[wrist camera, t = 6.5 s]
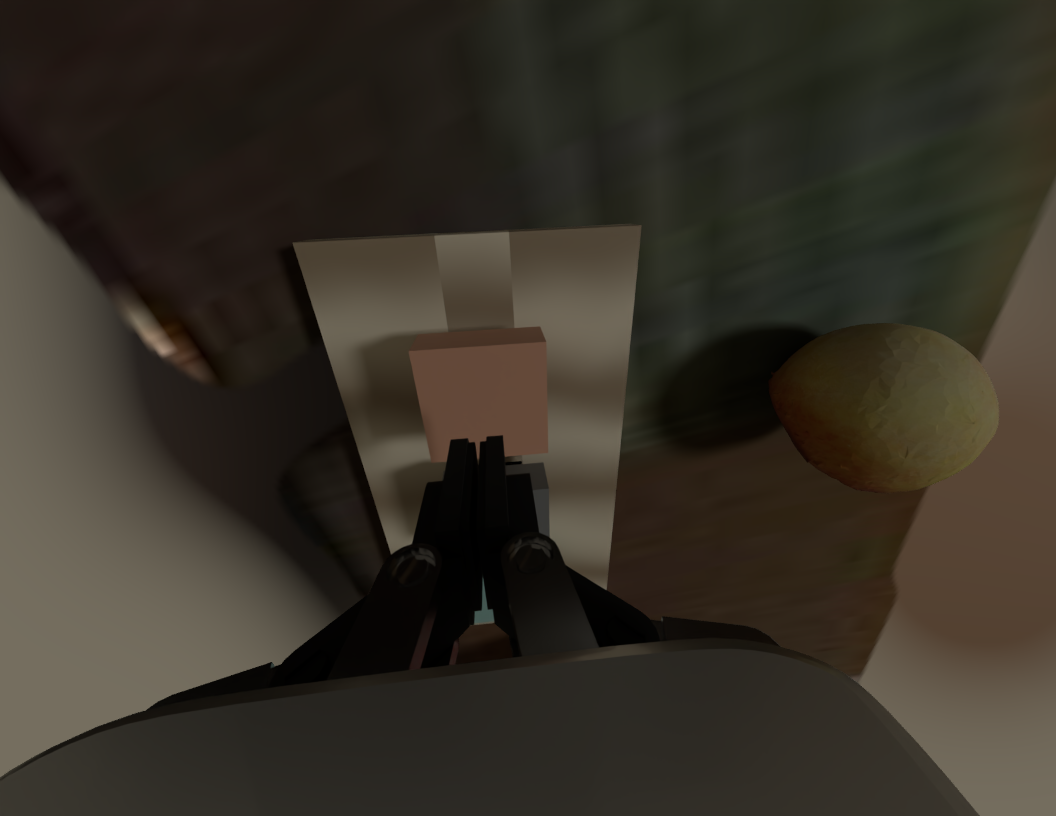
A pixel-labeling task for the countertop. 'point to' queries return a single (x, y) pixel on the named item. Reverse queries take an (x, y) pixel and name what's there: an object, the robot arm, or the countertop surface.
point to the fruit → (885, 406)
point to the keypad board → (483, 304)
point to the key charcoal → (535, 491)
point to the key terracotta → (483, 388)
